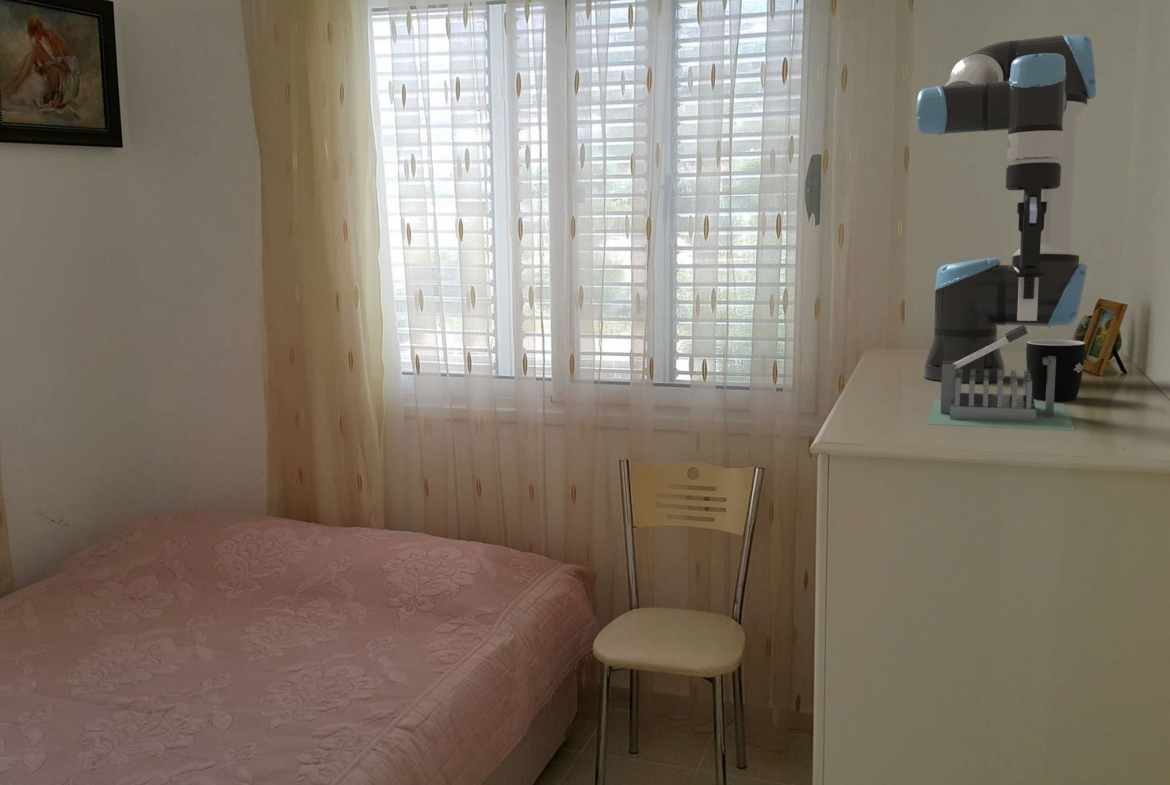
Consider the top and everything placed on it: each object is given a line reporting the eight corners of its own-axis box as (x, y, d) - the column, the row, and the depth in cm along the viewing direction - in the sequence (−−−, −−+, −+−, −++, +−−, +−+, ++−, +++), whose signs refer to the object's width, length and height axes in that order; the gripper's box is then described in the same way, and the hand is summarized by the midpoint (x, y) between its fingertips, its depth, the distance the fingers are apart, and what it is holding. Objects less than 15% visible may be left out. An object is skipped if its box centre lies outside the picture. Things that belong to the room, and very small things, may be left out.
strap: (948, 372, 163) (944, 365, 163) (1031, 330, 158) (1026, 322, 158) (946, 376, 158) (942, 369, 158) (1032, 333, 153) (1027, 325, 153)
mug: (1079, 407, 166) (1082, 345, 164) (1020, 404, 170) (1022, 344, 169) (1087, 397, 176) (1090, 338, 174) (1031, 393, 180) (1033, 337, 179)
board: (934, 402, 174) (934, 399, 173) (1063, 407, 166) (1063, 403, 166) (926, 428, 151) (927, 424, 151) (1075, 434, 144) (1075, 430, 144)
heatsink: (942, 404, 168) (944, 350, 167) (1050, 408, 162) (1052, 352, 161) (939, 418, 155) (940, 360, 154) (1055, 423, 150) (1058, 362, 148)
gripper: (1005, 166, 159) (1000, 316, 163) (1007, 161, 147) (1000, 323, 151) (1058, 164, 156) (1051, 317, 160) (1064, 158, 144) (1056, 324, 148)
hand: (1026, 320), depth 155 cm, fingers closed
